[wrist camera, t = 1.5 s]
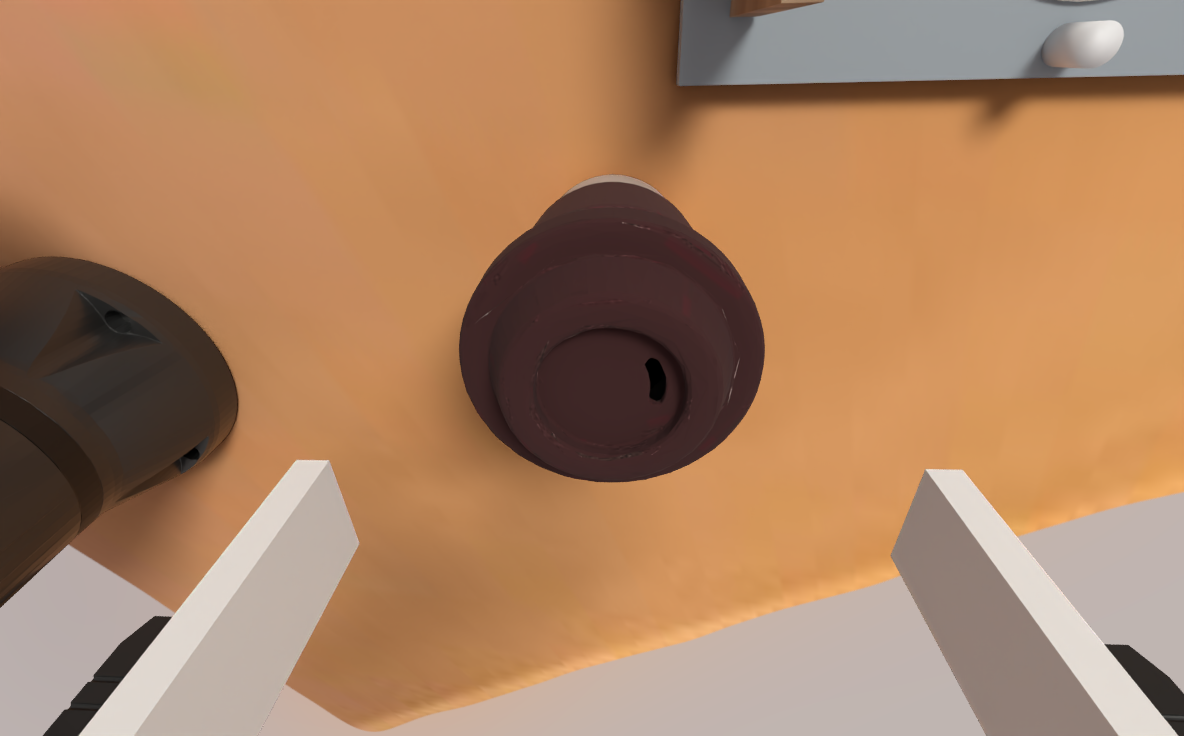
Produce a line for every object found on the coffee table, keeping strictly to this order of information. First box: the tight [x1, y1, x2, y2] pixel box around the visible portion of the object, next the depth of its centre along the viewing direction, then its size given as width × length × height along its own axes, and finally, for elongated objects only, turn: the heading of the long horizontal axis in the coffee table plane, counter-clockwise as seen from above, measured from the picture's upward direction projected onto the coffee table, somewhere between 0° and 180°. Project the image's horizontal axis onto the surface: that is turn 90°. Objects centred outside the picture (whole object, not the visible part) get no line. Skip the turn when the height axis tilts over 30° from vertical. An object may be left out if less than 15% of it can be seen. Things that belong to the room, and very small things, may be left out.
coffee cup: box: [459, 175, 765, 482], centre depth 22 cm, size 10×10×15 cm
